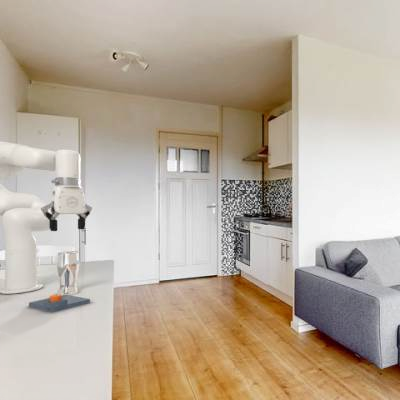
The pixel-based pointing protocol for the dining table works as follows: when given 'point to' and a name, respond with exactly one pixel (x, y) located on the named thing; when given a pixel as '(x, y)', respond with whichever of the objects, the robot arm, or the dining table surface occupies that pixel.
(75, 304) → the scale
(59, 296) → the button
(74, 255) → the beer glass
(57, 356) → the dining table surface
